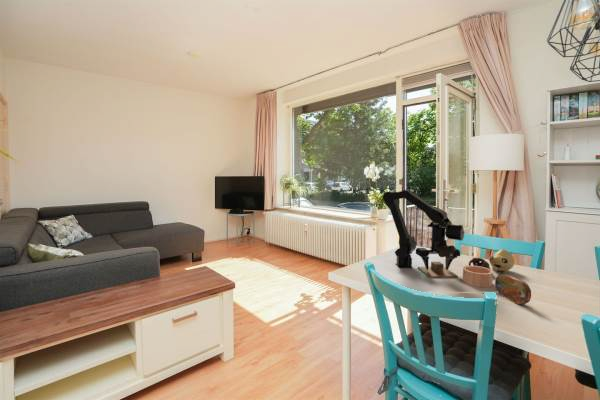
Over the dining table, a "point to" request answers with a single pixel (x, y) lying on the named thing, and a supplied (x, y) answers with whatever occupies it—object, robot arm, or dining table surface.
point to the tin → (513, 289)
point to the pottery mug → (479, 263)
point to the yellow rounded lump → (502, 261)
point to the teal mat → (436, 278)
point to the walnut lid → (437, 271)
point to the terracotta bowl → (477, 276)
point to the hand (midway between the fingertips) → (437, 269)
